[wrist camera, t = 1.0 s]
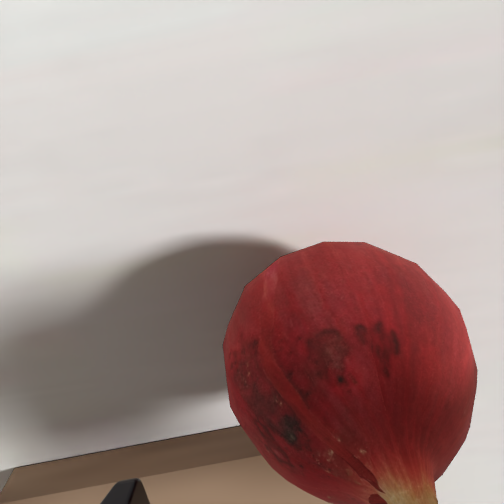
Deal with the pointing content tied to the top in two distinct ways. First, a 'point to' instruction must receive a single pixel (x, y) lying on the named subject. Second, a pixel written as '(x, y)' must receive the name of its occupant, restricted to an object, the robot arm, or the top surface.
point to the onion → (351, 374)
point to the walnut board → (162, 474)
